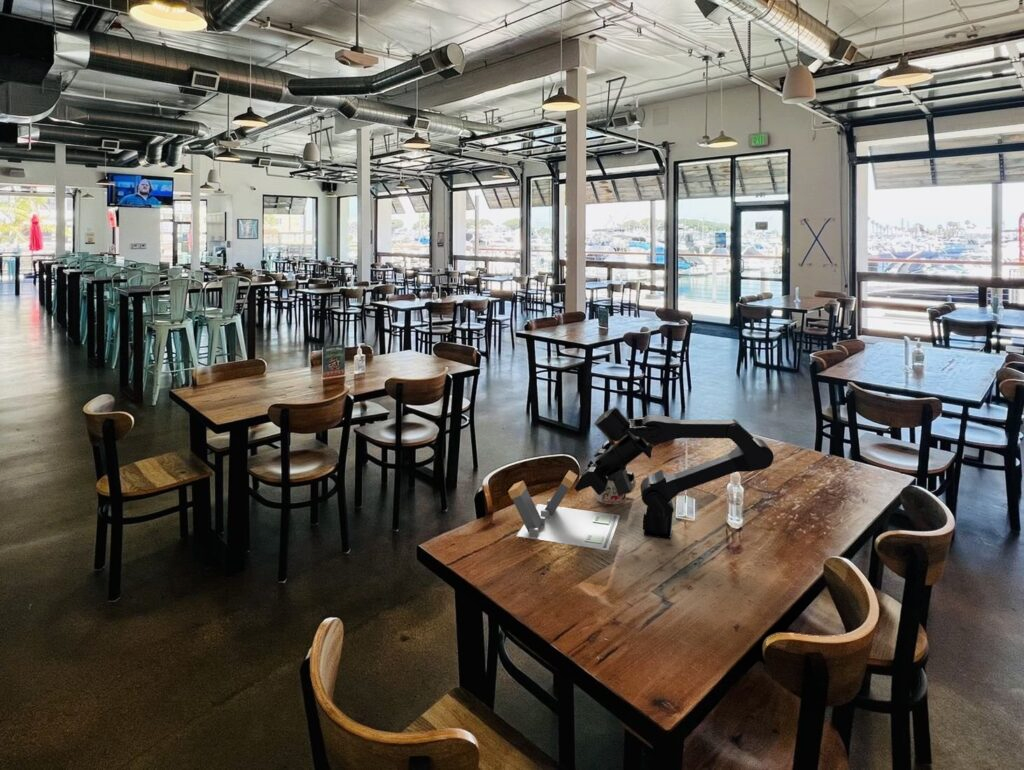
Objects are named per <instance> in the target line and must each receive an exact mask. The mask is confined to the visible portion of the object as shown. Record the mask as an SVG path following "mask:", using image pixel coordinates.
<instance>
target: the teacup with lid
mask: <svg viewBox="0 0 1024 770" xmlns="http://www.w3.org/2000/svg"><path fill="white" fill-rule="evenodd" d="M606 477H607V476H606ZM607 480H608V486H607V489H606V491H605V492H603V493H602V494H601V495H598V494H597V493H596V492H595V491H594V494H593V495H594V496H593V498H594V499H595V500H596V501H597V502H600V503H602V504H607V505H618V504H623V503H625V502H626V500H627V495H628V494H629V493H627V494H624V495H620V496H619V495H618V494H617V489H616V487H615V484H614V482H613V480H612V481H611V482H610V480H609V479H608V478H607ZM632 484H633V485H632V491H631V493H632V492H633V491H634V490H635V489H636V487H637V481H636V479H635V478H634V480H633V481H632Z"/></svg>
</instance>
